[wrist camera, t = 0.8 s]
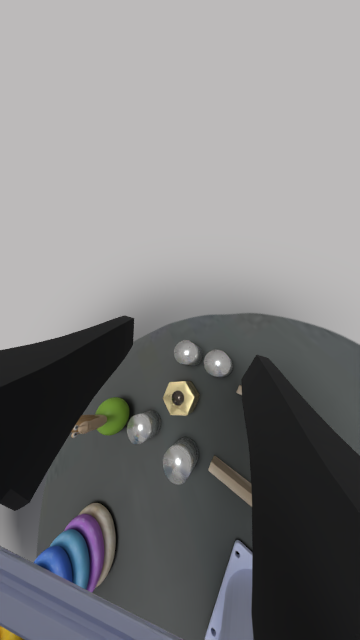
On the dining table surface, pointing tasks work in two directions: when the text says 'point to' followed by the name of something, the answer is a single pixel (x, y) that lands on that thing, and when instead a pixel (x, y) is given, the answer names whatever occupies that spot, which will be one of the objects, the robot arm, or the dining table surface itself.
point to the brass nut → (181, 398)
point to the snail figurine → (104, 418)
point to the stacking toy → (80, 552)
